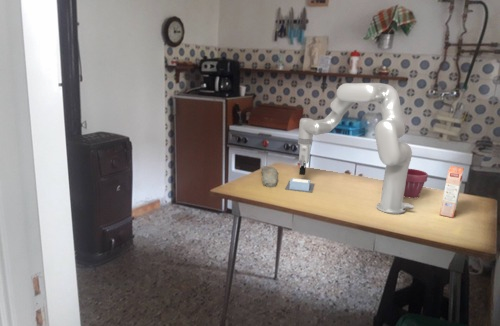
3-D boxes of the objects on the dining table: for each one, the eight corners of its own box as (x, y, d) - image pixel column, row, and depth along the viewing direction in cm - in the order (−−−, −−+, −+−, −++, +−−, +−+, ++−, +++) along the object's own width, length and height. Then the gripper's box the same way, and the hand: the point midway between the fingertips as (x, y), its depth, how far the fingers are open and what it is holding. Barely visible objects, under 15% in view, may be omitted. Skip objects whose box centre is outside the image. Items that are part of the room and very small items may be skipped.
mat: (314, 184, 212) (314, 183, 212) (312, 192, 197) (312, 192, 197) (289, 181, 215) (289, 180, 215) (284, 189, 200) (285, 188, 200)
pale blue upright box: (310, 180, 204) (309, 183, 197) (309, 187, 205) (308, 191, 198) (291, 177, 206) (289, 181, 199) (291, 185, 207) (289, 188, 200)
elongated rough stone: (259, 189, 203) (278, 191, 203) (261, 180, 201) (279, 182, 201) (260, 169, 236) (276, 171, 236) (261, 161, 235) (278, 163, 235)
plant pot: (400, 199, 194) (404, 174, 191) (390, 190, 208) (393, 167, 205) (428, 200, 195) (433, 176, 192) (416, 192, 208) (420, 169, 205)
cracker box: (454, 218, 171) (462, 173, 166) (439, 215, 174) (447, 170, 169) (456, 210, 183) (464, 167, 178) (442, 207, 186) (450, 165, 181)
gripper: (311, 144, 199) (307, 178, 203) (313, 139, 213) (310, 172, 217) (296, 143, 200) (293, 177, 204) (299, 138, 214) (296, 170, 219)
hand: (302, 174), depth 211 cm, fingers closed
